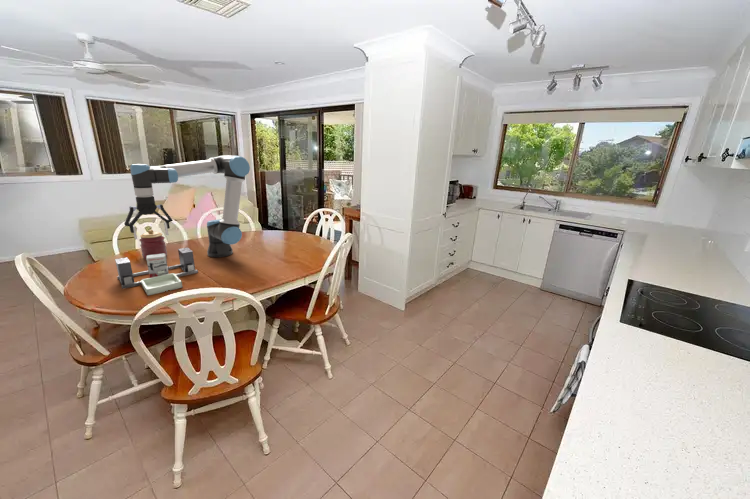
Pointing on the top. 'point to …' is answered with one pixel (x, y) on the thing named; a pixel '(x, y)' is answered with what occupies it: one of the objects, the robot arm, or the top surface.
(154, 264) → the ink box
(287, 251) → the top surface
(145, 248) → the canister
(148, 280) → the tray
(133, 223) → the robot arm
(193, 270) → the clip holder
